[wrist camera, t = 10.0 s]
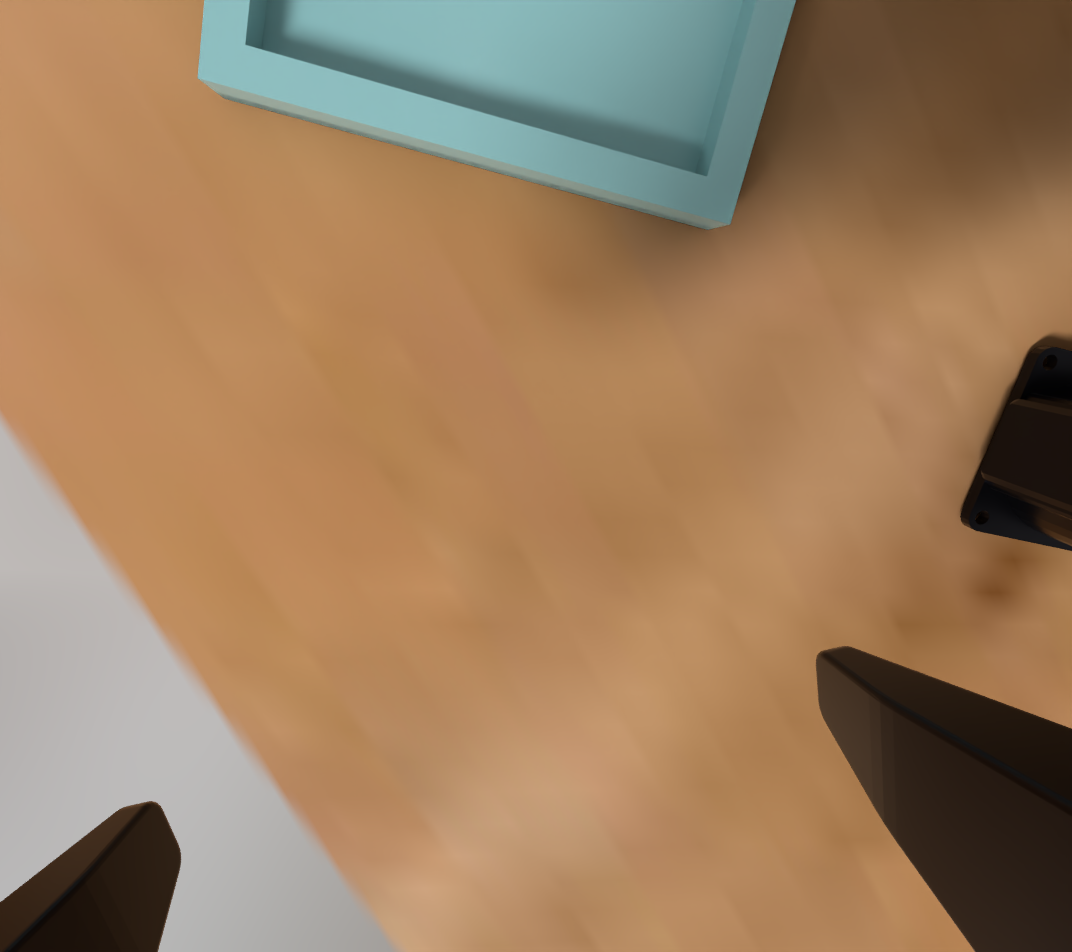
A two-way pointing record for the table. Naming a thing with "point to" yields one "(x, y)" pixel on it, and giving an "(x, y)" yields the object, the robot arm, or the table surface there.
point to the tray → (523, 86)
